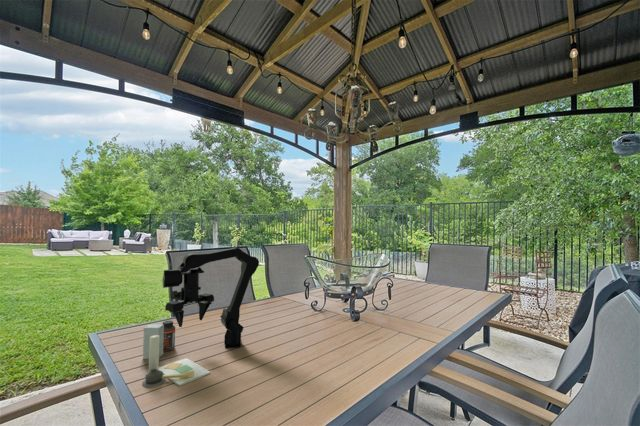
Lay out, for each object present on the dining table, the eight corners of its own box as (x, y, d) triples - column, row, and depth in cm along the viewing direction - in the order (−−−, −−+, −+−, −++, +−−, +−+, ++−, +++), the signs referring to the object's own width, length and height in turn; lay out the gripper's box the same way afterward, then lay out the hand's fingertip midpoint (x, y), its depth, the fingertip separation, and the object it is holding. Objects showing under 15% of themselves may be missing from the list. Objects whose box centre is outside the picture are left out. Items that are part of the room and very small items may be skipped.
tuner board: (186, 359, 115) (186, 357, 115) (210, 373, 104) (210, 371, 104) (133, 377, 101) (133, 375, 101) (154, 396, 90) (155, 394, 90)
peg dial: (169, 363, 110) (171, 330, 110) (190, 377, 100) (192, 341, 101) (136, 375, 101) (138, 339, 102) (156, 391, 92) (157, 351, 92)
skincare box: (163, 354, 119) (164, 324, 120) (158, 359, 115) (159, 327, 115) (148, 354, 119) (149, 324, 119) (142, 359, 115) (143, 327, 115)
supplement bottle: (157, 352, 121) (158, 324, 121) (160, 346, 126) (161, 320, 127) (173, 351, 122) (174, 323, 123) (175, 345, 128) (176, 319, 129)
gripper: (198, 279, 133) (198, 314, 133) (157, 286, 117) (156, 326, 117) (215, 281, 127) (214, 318, 127) (174, 290, 111) (173, 332, 111)
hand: (190, 323), depth 120 cm, fingers open, 9 cm apart
